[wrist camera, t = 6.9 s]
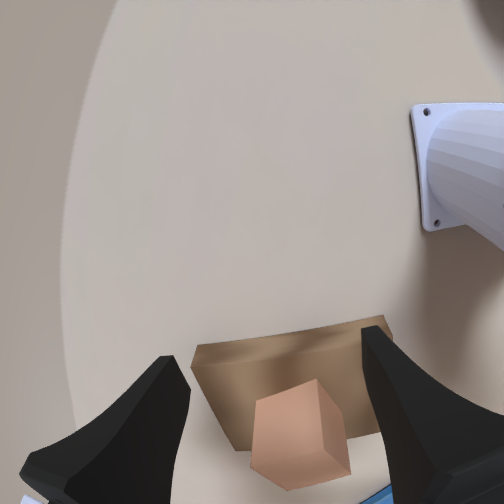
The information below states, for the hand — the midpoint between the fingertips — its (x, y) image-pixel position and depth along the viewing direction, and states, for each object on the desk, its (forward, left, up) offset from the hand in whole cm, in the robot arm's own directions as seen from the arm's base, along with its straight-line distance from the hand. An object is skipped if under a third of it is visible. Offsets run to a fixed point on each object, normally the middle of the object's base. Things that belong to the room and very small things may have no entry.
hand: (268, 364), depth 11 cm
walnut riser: (0, +12, -9) cm, 15 cm away
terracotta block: (0, +12, -7) cm, 14 cm away
